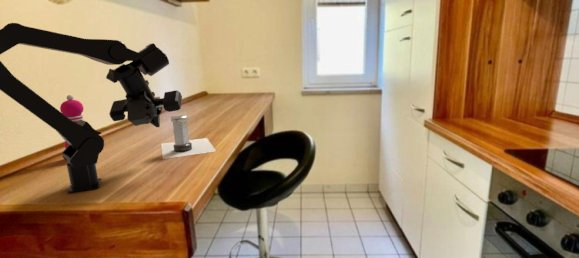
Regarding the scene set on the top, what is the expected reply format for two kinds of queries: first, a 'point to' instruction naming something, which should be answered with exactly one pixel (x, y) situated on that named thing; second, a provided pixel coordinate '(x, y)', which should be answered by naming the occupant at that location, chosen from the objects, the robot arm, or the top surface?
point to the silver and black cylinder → (181, 133)
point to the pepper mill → (72, 110)
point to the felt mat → (197, 148)
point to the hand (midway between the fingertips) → (158, 126)
